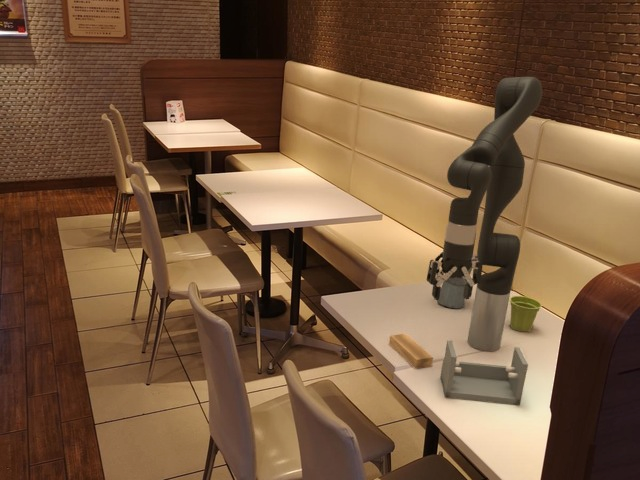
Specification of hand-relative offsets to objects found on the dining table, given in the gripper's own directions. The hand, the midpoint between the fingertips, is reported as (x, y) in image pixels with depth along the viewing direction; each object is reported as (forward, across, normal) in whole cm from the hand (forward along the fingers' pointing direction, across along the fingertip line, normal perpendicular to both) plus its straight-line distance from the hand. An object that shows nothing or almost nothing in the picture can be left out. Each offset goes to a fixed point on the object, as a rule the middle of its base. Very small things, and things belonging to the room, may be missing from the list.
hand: (451, 298), depth 166 cm
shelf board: (+18, +8, -4) cm, 20 cm away
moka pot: (+17, -19, -36) cm, 44 cm away
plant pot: (+18, -34, -18) cm, 42 cm away
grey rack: (+18, -3, +16) cm, 25 cm away
